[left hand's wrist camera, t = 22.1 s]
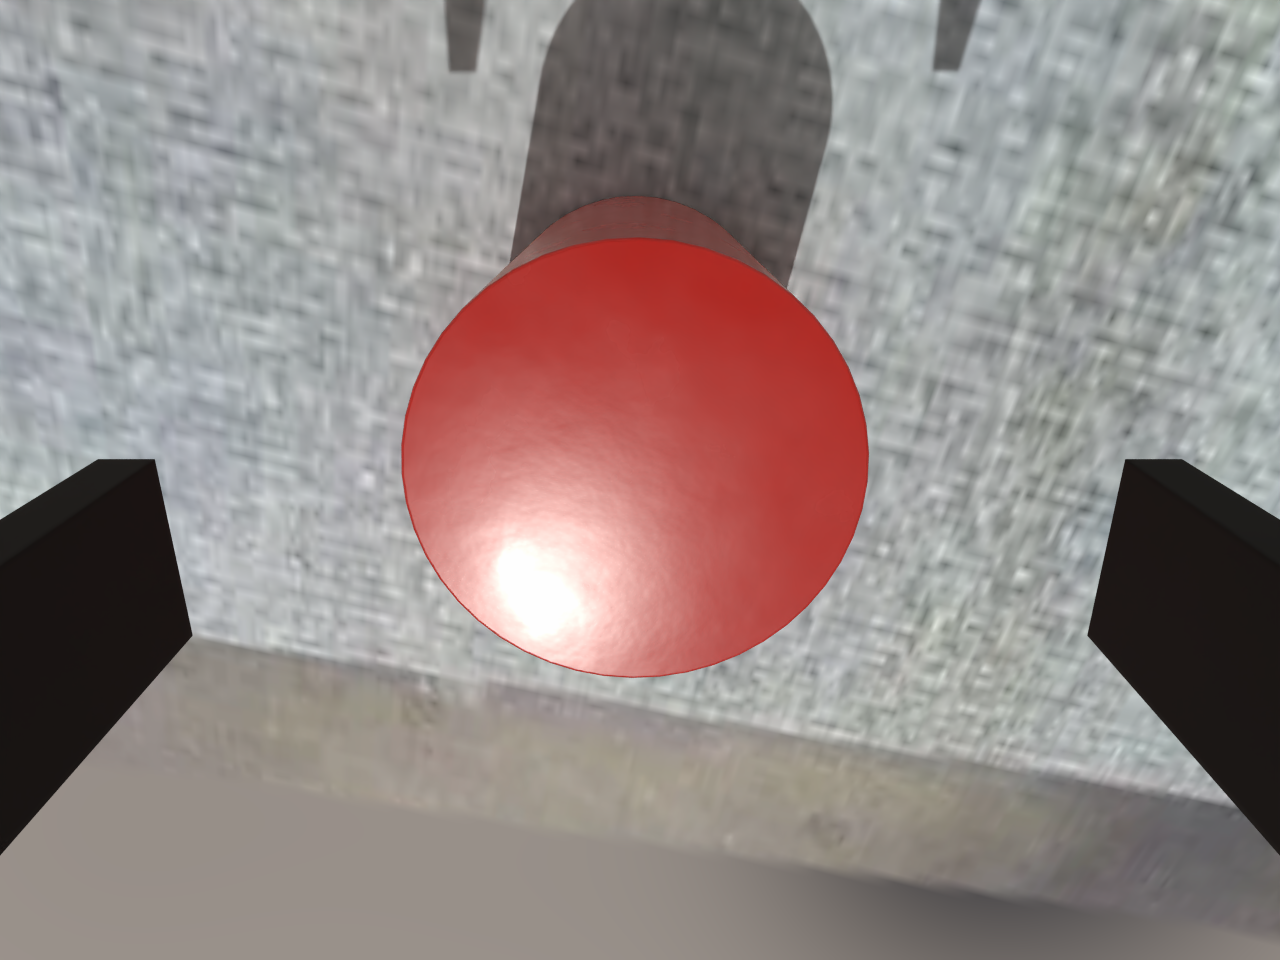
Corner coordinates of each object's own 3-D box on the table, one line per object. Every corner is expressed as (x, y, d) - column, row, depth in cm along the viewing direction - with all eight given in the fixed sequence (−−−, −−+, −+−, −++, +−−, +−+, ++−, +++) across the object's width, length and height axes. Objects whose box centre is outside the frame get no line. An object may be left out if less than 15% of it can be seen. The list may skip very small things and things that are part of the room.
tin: (452, 382, 28) (323, 551, 17) (585, 138, 26) (543, 134, 14) (678, 509, 30) (705, 744, 18) (824, 290, 27) (965, 401, 16)
